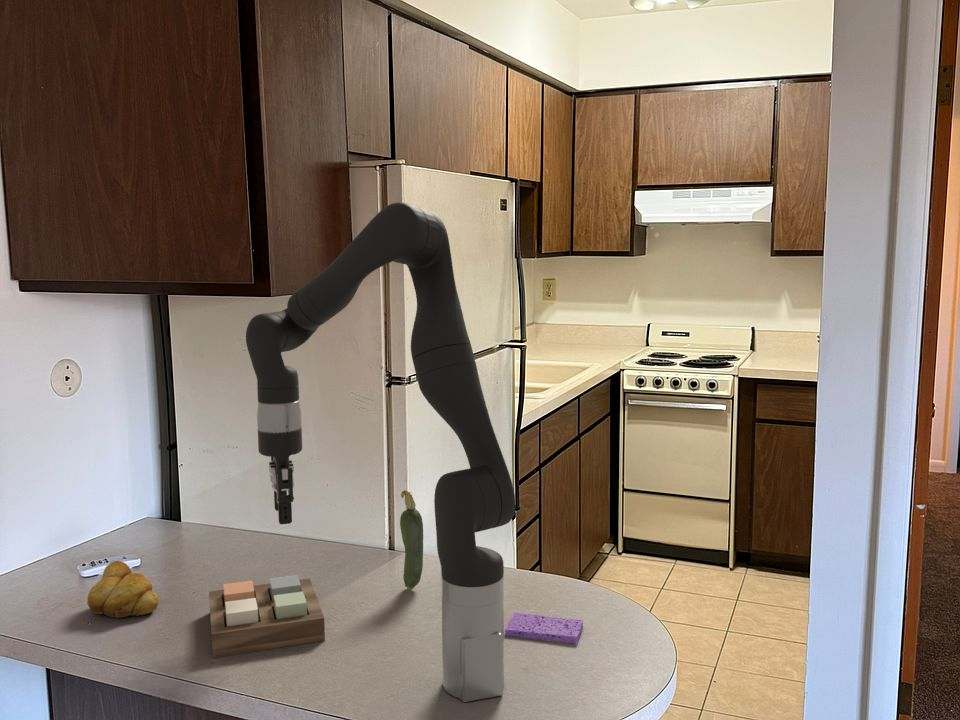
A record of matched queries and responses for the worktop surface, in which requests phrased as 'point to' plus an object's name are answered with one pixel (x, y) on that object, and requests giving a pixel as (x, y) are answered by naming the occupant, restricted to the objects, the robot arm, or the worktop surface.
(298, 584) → the key slate
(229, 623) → the key cream
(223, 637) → the keypad
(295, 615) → the key sage
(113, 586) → the bread roll
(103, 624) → the worktop surface
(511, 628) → the sponges
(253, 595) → the key terracotta
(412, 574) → the vegetable
